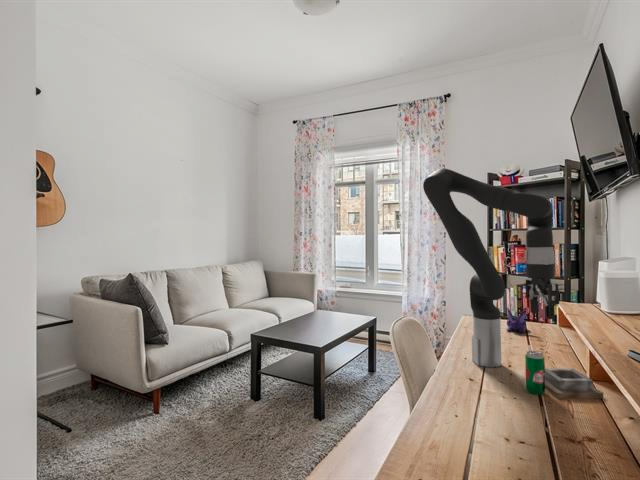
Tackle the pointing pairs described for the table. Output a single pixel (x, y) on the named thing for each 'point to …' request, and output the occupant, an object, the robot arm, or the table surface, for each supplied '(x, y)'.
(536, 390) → the soda can
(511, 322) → the creature
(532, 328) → the table surface
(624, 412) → the table surface
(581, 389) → the grey hollow square frame
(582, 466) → the table surface
